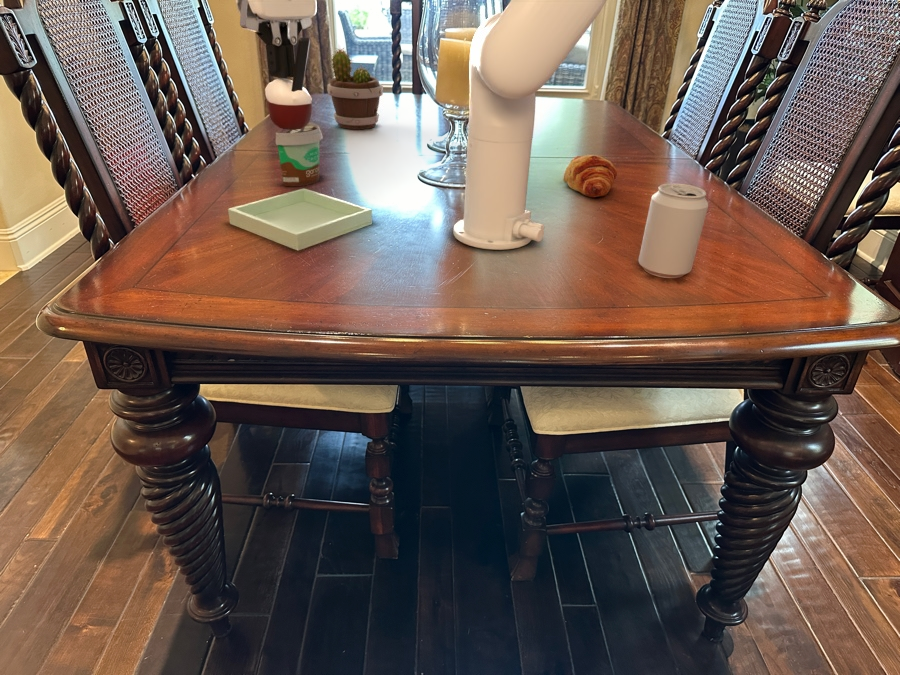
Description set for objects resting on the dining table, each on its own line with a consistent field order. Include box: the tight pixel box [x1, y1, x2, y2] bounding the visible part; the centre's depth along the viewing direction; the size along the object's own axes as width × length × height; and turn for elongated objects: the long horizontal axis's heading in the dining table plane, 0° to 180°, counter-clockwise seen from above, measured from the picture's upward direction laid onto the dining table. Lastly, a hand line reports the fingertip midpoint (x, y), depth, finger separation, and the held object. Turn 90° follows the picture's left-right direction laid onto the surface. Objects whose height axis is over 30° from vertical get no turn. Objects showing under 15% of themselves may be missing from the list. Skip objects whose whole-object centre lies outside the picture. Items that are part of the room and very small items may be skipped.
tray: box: [227, 187, 373, 252], centre depth 99 cm, size 17×16×2 cm
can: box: [638, 182, 709, 279], centre depth 85 cm, size 8×8×12 cm
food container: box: [275, 121, 323, 187], centre depth 118 cm, size 12×6×10 cm, turn 168°
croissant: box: [562, 154, 618, 198], centre depth 122 cm, size 21×10×8 cm, turn 179°
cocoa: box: [264, 37, 313, 131], centre depth 85 cm, size 10×6×12 cm, turn 21°
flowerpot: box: [326, 45, 384, 131], centre depth 160 cm, size 14×15×20 cm
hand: (282, 76), depth 84 cm, fingers closed on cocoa, 1 cm apart
